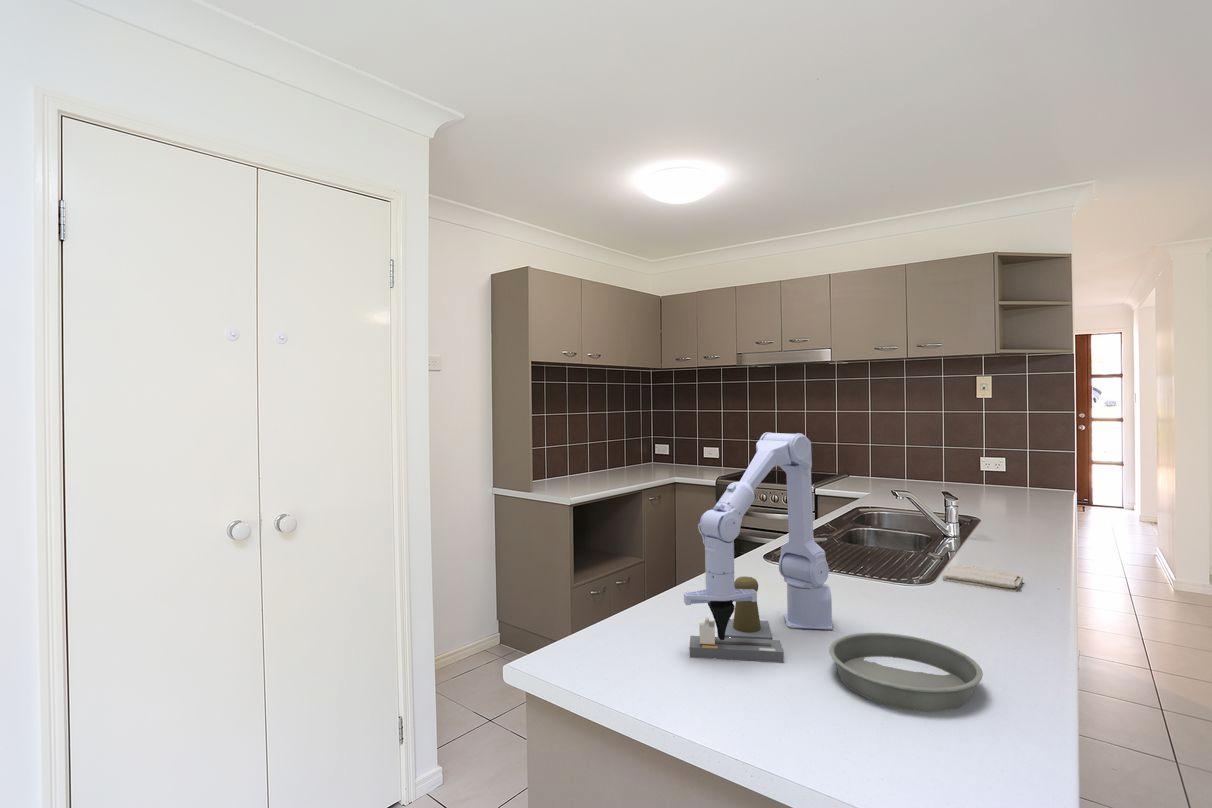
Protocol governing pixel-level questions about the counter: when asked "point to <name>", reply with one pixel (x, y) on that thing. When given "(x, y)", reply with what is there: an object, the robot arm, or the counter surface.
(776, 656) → the switch bar
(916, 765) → the counter surface
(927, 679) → the cake pan
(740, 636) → the slate mat
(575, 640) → the counter surface
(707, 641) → the switch tab
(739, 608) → the cork
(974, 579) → the washcloth
